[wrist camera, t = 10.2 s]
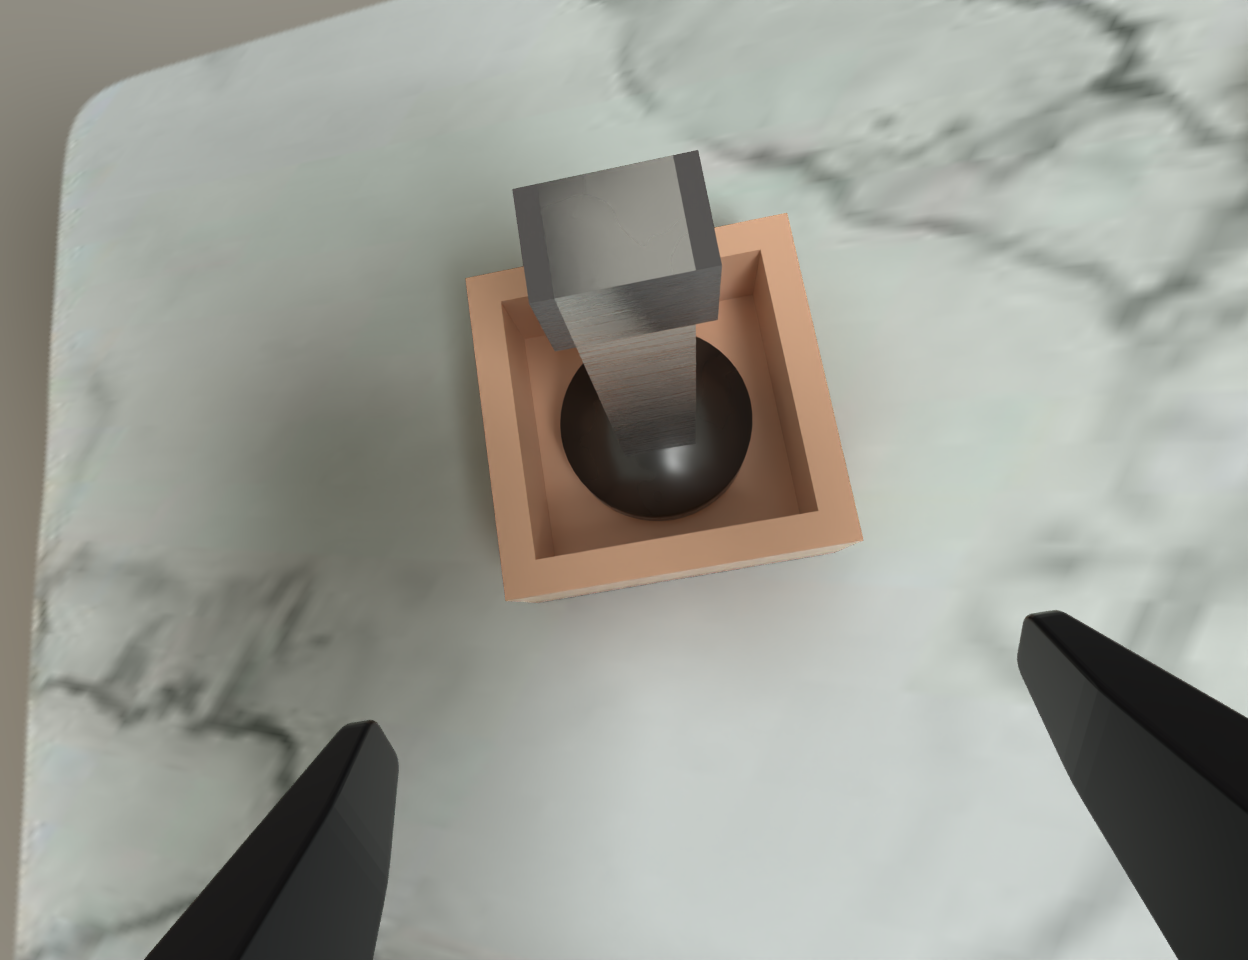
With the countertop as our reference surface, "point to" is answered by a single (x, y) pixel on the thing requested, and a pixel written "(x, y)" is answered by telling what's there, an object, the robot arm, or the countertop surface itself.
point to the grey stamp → (637, 333)
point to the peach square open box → (729, 527)
